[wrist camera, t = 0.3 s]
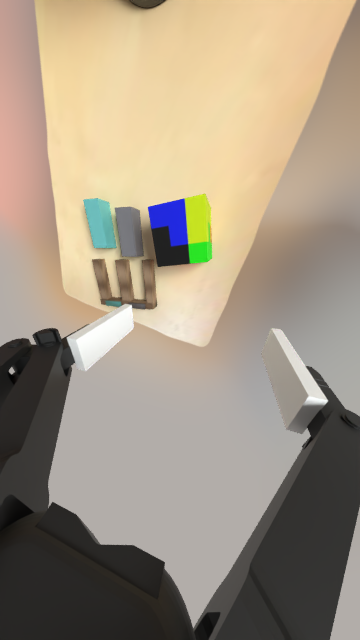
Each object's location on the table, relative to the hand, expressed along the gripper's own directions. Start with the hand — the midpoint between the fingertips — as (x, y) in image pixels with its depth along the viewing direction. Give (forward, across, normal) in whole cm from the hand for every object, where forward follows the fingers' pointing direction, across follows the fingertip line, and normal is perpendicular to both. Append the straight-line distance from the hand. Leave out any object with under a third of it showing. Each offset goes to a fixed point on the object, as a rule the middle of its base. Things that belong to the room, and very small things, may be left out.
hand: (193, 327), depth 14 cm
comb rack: (+27, -24, -4) cm, 37 cm away
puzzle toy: (+28, -7, +8) cm, 30 cm away
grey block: (+27, -21, +8) cm, 36 cm away
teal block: (+27, -30, +10) cm, 41 cm away
